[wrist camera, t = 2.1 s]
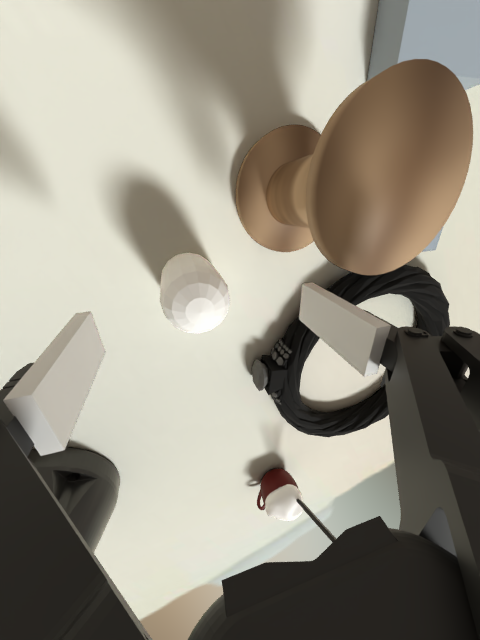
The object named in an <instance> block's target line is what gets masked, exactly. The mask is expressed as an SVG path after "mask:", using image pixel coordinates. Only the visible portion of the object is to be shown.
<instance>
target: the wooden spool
mask: <svg viewBox="0 0 480 640" xmlns="http://www.w3.org/2000/svg"><path fill="white" fill-rule="evenodd" d="M472 145H473V121H472V113H471V108H470V103H469V100H468V97H467V94H466V92H465V90H464V88H463V86H462V84H461V82H460V81H459V79H458V78H457V77H456V75H455V74H454V73H453V72H452V71H451V70H449V69H448V68H447V67H446V66H444V65H442V64H440V63H439V62H436V61H432V60H428V59H412V60H407V61H403V62H400V63H398V64H396V65H393V66H391V67H389V68H387V69H386V70H384V71H383V72H381V73H379V74H378V75H376V76H374V77H373V78H371V79H370V80H368V81H366V82H365V83H363V84H362V85H360V86H359V87H358V88H357V89H355V90H354V91H353V92H352V93H351V94H349V95H348V97H347V98H346V99H345V100H344V101H343V102H342V103H341V104H340V105H339V107H338V108H337V109H336V111H335V112H334V114H333V115H332V116H331V118H330V119H329V121H328V123H327V125H326V126H325V128H324V130H323V132H322V134H321V135H320V134H319V133H318V132H316V131H315V130H313V129H311V128H309V127H306V126H302V125H286V126H282V127H279V128H277V129H275V130H273V131H271V132H269V133H268V134H266V135H265V136H263V137H262V138H261V139H260V140H259V141H257V142H256V143H255V144H254V146H253V147H252V148H251V149H250V150H249V152H248V153H247V155H246V157H245V159H244V161H243V162H242V165H241V167H240V170H239V173H238V178H237V183H236V206H237V211H238V215H239V217H240V220H241V222H242V225H243V227H244V228H245V230H246V231H247V233H248V234H249V235H250V236H251V238H252V239H254V240H255V241H256V242H257V243H259V244H260V245H262V246H264V247H266V248H268V249H271V250H274V251H279V252H291V251H296V250H299V249H302V248H304V247H306V246H308V245H309V244H311V243H312V242H313V241H314V242H315V244H316V246H317V247H318V249H319V250H320V252H321V253H322V254H323V255H324V256H325V258H326V259H327V260H329V261H330V262H331V263H333V264H334V265H336V266H338V267H340V268H342V269H345V270H348V271H351V272H354V273H357V274H361V275H379V274H384V273H387V272H390V271H393V270H395V269H397V268H399V267H401V266H403V265H405V264H406V263H408V262H409V261H411V260H412V259H413V258H415V257H416V256H417V255H418V254H419V253H421V252H422V251H423V250H424V249H425V248H426V247H427V246H428V245H429V243H430V242H431V241H432V240H433V239H434V238H435V237H436V235H437V234H438V233H439V231H440V230H441V229H442V227H443V226H444V224H445V223H446V221H447V219H448V218H449V216H450V214H451V212H452V211H453V209H454V207H455V205H456V202H457V200H458V198H459V196H460V193H461V191H462V188H463V185H464V183H465V179H466V176H467V172H468V168H469V164H470V159H471V152H472Z"/></svg>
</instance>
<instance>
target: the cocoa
mask: <svg viewBox="0 0 480 640" xmlns="http://www.w3.org/2000/svg"><path fill="white" fill-rule="evenodd" d="M260 486H261V489H260V492H259V495H258V499H257V506H258V508H259V509H260V510H264V509H266V512H267V515H268V516H272V517H275V518H276V519H280V520H286V521H293V520H294V519H296V518H297V517H298V516H299V515H300V514H302V510H303V509H304V511H305V512H306V513H307V514H308V515H309V516H310V517H311V518H312V520H313V521H314V522H315V523H316V524H317V525H318V526H319V527H320V529H321V530H322V531H323V532H324V533H325V534H326V535H327V536H328V538H329V539H330V540H331V541H332V542H334V541H335V540H336V538H335V537H334V536H333V535H332V534H331V532H330V531H329V530H328V529H327V528H326V527H325V526H324V525H323V524H322V523H321V521H320V520H319V519H318V518H317V517H316V516H315V515H314V514H313V513H312V512H311V511H310V509H309V508H308V507H307V506H306V505H305V504H304V502H303V498H302V494H301V492H300V491H299V489H298V486H297V484H296V482H295V480H294V479H293V478H292V476H291V475H290V474H289V473H288V472H287V471H285V470H283V469H273V470H270V471H269V472H267V473H266V474H265V475H264V477H263V479H262V481H261V485H260ZM261 496H262V498H263V502H264V505H263V506H262V507H261V506H260V499H261Z"/></svg>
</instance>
